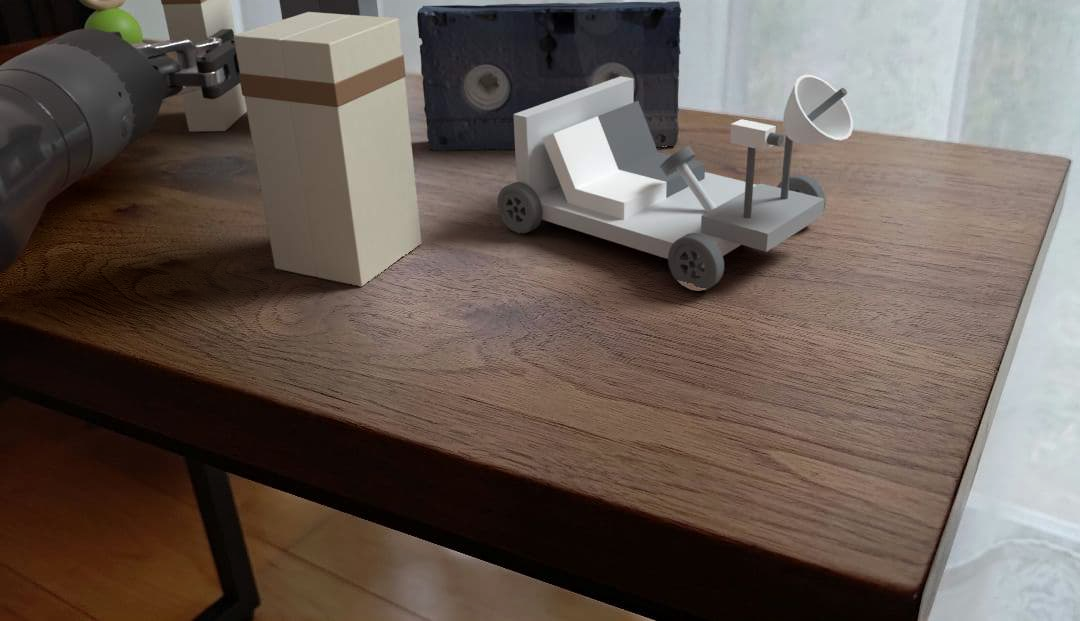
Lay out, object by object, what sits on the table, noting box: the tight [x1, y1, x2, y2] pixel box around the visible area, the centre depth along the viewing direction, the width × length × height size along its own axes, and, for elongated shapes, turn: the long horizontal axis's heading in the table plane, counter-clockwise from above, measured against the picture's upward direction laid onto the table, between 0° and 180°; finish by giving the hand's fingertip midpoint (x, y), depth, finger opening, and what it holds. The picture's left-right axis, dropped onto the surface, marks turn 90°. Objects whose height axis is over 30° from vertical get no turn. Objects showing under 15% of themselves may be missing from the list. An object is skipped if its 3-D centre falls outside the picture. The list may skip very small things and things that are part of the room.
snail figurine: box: [78, 0, 144, 44], centre depth 98 cm, size 5×6×12 cm
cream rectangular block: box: [160, 0, 247, 133], centre depth 79 cm, size 3×6×13 cm, turn 177°
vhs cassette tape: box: [416, 0, 682, 151], centre depth 71 cm, size 18×3×10 cm, turn 84°
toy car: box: [497, 74, 854, 290], centre depth 56 cm, size 18×10×12 cm
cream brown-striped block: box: [234, 12, 422, 287], centre depth 54 cm, size 6×6×13 cm
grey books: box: [278, 0, 379, 20], centre depth 78 cm, size 6×6×14 cm
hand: (174, 44), depth 74 cm, fingers open, 8 cm apart
